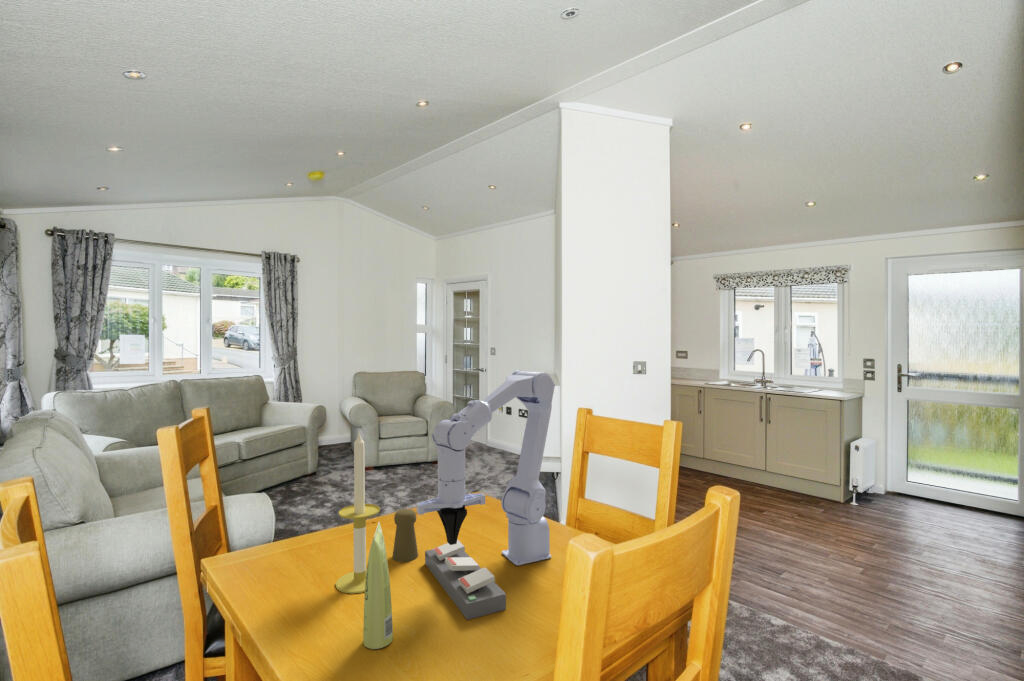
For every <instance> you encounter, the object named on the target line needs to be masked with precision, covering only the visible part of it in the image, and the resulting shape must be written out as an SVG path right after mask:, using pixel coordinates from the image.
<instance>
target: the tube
mask: <svg viewBox="0 0 1024 681" xmlns="http://www.w3.org/2000/svg"><path fill="white" fill-rule="evenodd" d="M386 548H387V547H386V541H385V538H384V533H383V529H382V526H381V522H380V521H378V523H377V526H376V530H375V532H374V535H373V538H372V541H371V544H370V548H369V552H368V559H367V564H366V570H367V572H366V582H365V592H364V600H363V601H364V602H363V636H362V638H363V645H364V646H365V647H366V648H368V649H370V650H378V649H382V648H384V647H387V646H388V645H390V644H391V643H392V641H393V640H394V638H393V636H394V634H393V633H394V632H393V611H392V610H393V609H392V608H393V607H392V606H393V604H392V595H391V594H392V592H391V582H390V570H389V563H388V557H387V549H386Z"/></svg>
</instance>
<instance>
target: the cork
mask: <svg viewBox="0 0 1024 681" xmlns="http://www.w3.org/2000/svg"><path fill="white" fill-rule="evenodd" d="M416 513H417V512H416V511H415V510H413V509H411V508H403V509H402V508H401V509H399V510H397V511H396V512H395V514H394V517H393V519H394V524H395V526H396V527H395V528H396V529H395V534H394V542H393V551H392V560H393V561H395V562H398V563H407V562H408V563H409V562H411V561H415V560H416V559H418V557H419V551H418V545H417V537H416V536H417V535H416V530H415V523H416V521H417V514H416Z"/></svg>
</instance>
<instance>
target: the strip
mask: <svg viewBox="0 0 1024 681" xmlns="http://www.w3.org/2000/svg"><path fill="white" fill-rule="evenodd" d="M433 549H434V548H431V549H429V550H424V564H425V565H426V567H427V568H428V570H429V571H430V572H431V574H432V575H433V576H434V578H435V579H436V580H437V582H438V583H439V585H440V586H441V587H442V588H443V590H444V591H445V592H446V595H448V596H449V598H450V599H451V600H452V602H453V603H454V604H455V606H456V608H458V610H459V611H460V613H461V614H462V616H464V618H465V619H466V620H467V621H468V620H473V619H476V618H480V617H484V616H486V615H491V614H494V613H497V612H501V611H505V610H506V611H507V594H506V592H505V591H504V590H503V589H502V588H501V587H500V586H499V585H498V584H497V583H496V582H495V581H494V582H492V583H490V584H488V585H485V586H483V587H481V588H479V589H477V590H474V591H472V592H470V593H468V594H467V593H466V592H465V590H464V589H463V588H462V587H461V586H460V584H459V581H458V579H459V578H462V577H464V576H466V575H468V574H471V573H473V572H475V571H477V570H465V571H452V570H451V569H450V568H449V567H448V566H447V564H446V563H445V559H443V560H441V561H440V560H439V559H438V558H437V556H436V555H435V554H434V552H433ZM450 557H471V556H470V555H469V554H467V552H466V551H462V552H460V553H457V554H455V555H453V556H450ZM480 569H482V567H480V566H479V569H478V570H480Z"/></svg>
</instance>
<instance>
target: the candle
mask: <svg viewBox="0 0 1024 681" xmlns="http://www.w3.org/2000/svg"><path fill="white" fill-rule="evenodd" d="M365 452H366V450H365V441H364V440H363V438H362V436H361V433H360V431H358V434H357V437H356V440H354V442H353V467H354V468H353V481H354V482H353V485H354V486H353V487H354V488H353V493H354V496H353V497H354V502H353V504H352V505H351V504H350V505H349V506H345V507H342V508H341V509H340V510H339V511H338V515H339V517H340V518H342V519H347V520H353V571H351V572H348V573H345V574H343V575H342V576H341V577H339V578H338V579H337V580H336V582H335V584H334V585H336V586H335V588H337V589H336V590H337V591H338V590H339V592H340V591H341V592H340V593H342V592H343V594H348V593H349V594H350V595H351V594H352V595H354V594H355V593H356V595H357V593H358V594H363V593H364V594H365V582H366V572H367V542H366V541H367V527H366V526H367V525H366V524H367V522H366V521H367V519H369V518H370V517H373V516H376V515H378V514H379V512H380V510H381V507H380V506H379V505H376V504H374V503H373V504H372V503H366V499H365V498H366V497H365V496H366V495H365V494H366V492H365V488H366V486H365V484H366V483H365V479H366V476H365V475H366V474H365V472H366V471H365V469H366V468H365V463H366V462H365V457H366V456H365Z"/></svg>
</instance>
